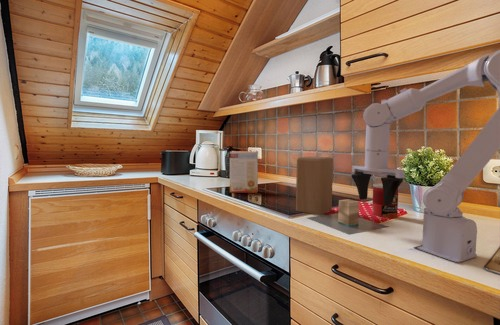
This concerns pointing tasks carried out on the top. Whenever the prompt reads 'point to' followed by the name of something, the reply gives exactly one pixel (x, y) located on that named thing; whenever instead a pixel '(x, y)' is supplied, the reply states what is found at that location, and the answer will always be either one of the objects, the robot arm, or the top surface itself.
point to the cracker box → (243, 172)
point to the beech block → (348, 212)
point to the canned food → (378, 203)
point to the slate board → (333, 223)
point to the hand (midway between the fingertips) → (374, 202)
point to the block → (314, 185)
